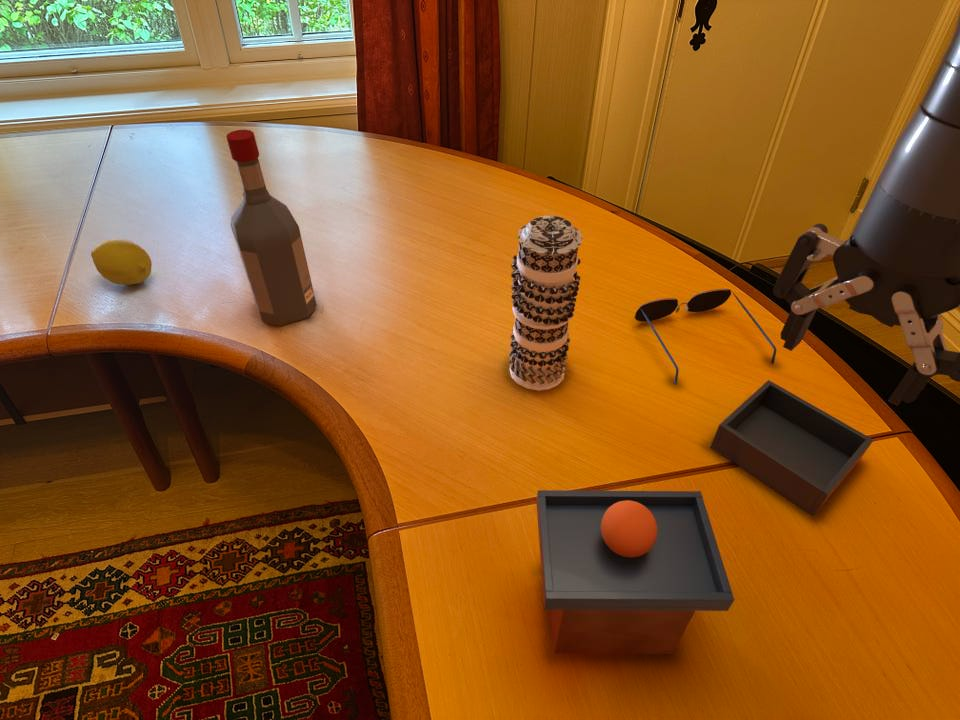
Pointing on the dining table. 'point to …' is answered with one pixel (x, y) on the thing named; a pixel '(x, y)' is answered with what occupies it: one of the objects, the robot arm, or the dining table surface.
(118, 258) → the lemon
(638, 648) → the stand
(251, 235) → the liquor
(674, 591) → the tray
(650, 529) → the ball
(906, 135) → the robot arm
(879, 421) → the dining table surface
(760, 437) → the bin
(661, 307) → the sunglasses
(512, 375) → the decorative candle
